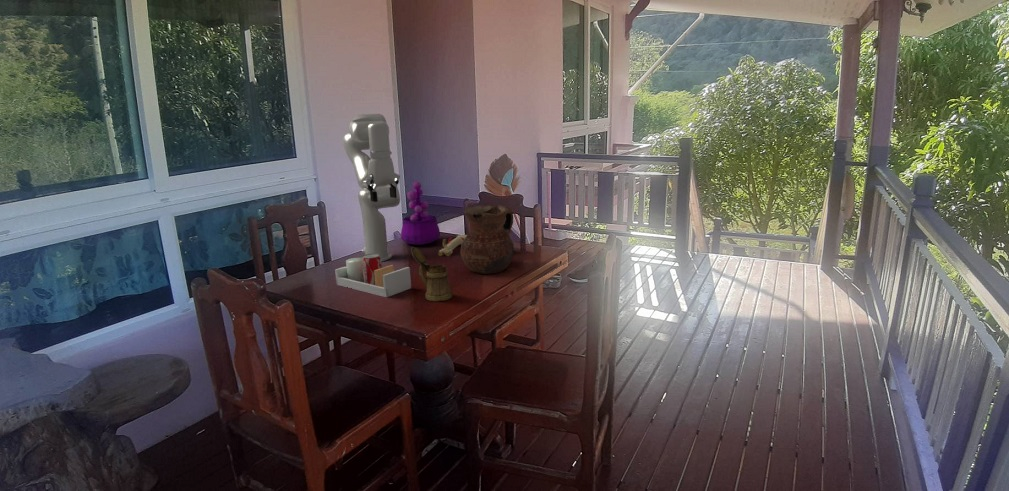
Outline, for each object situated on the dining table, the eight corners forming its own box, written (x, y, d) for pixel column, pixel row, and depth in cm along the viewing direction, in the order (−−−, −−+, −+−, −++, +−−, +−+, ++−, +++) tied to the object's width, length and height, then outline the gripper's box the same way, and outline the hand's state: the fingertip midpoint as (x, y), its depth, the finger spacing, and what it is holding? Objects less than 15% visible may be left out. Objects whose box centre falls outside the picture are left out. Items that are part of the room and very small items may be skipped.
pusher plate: (376, 291, 212) (374, 270, 210) (393, 285, 219) (391, 264, 217) (377, 292, 212) (375, 270, 210) (395, 285, 218) (393, 265, 216)
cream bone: (454, 259, 258) (475, 242, 280) (453, 241, 255) (474, 224, 277) (434, 258, 261) (456, 241, 283) (432, 240, 258) (455, 223, 280)
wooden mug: (420, 292, 211) (416, 243, 207) (455, 294, 207) (452, 244, 203) (409, 300, 203) (405, 249, 198) (446, 302, 199) (443, 251, 195)
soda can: (379, 289, 215) (376, 258, 212) (361, 289, 217) (358, 257, 214) (386, 283, 222) (384, 253, 219) (369, 283, 223) (366, 252, 221)
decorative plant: (423, 250, 271) (418, 185, 264) (393, 245, 281) (388, 183, 274) (448, 241, 286) (444, 179, 279) (419, 237, 296) (415, 178, 289)
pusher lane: (336, 284, 223) (334, 264, 221) (361, 276, 232) (359, 257, 230) (386, 297, 207) (384, 275, 205) (411, 288, 216) (409, 267, 214)
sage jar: (344, 283, 224) (342, 261, 222) (359, 279, 230) (356, 256, 227) (356, 286, 220) (353, 263, 218) (370, 281, 225) (368, 259, 223)
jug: (495, 280, 222) (492, 215, 216) (450, 273, 233) (447, 211, 227) (524, 265, 240) (522, 205, 234) (482, 259, 251) (479, 201, 245)
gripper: (390, 152, 233) (394, 195, 238) (355, 157, 220) (360, 202, 225) (403, 153, 229) (407, 196, 233) (368, 158, 216) (372, 204, 220)
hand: (384, 199), depth 229 cm, fingers open, 9 cm apart
